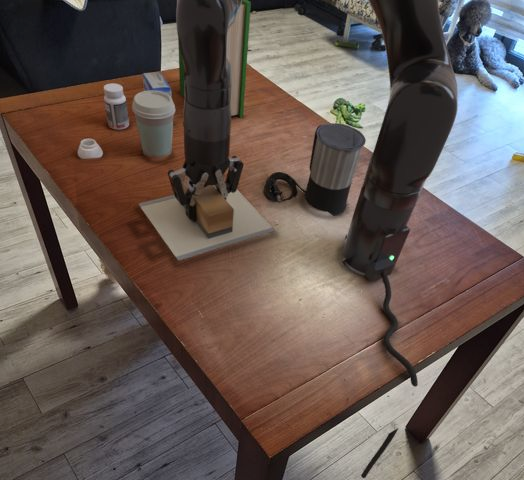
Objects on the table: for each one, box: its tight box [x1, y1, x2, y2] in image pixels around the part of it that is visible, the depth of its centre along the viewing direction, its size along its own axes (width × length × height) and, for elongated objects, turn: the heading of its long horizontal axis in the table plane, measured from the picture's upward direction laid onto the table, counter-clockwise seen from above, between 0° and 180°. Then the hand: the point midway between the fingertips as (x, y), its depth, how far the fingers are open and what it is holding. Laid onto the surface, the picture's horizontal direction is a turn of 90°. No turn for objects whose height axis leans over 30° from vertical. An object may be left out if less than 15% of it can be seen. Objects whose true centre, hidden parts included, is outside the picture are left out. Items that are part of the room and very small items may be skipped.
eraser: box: [182, 177, 234, 239], centre depth 87 cm, size 12×5×5 cm, turn 31°
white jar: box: [77, 138, 104, 160], centre depth 98 cm, size 5×3×5 cm
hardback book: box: [176, 0, 252, 119], centre depth 110 cm, size 18×7×24 cm, turn 37°
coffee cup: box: [131, 90, 176, 159], centre depth 98 cm, size 8×9×12 cm
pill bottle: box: [103, 82, 130, 131], centre depth 105 cm, size 5×5×8 cm
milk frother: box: [263, 122, 367, 217], centre depth 92 cm, size 14×16×15 cm
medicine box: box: [142, 72, 173, 99], centre depth 109 cm, size 8×4×9 cm, turn 25°
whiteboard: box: [138, 185, 276, 262], centre depth 89 cm, size 18×20×1 cm
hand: (205, 215), depth 89 cm, fingers closed on eraser, 5 cm apart
